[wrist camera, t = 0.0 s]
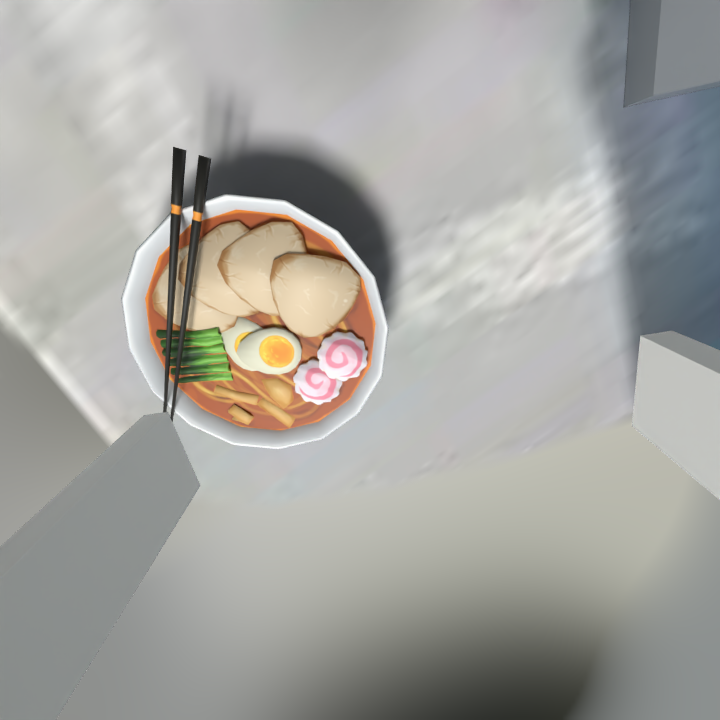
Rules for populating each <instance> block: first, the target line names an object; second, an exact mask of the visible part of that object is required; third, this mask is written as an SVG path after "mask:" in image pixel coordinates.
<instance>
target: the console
mask: <svg viewBox="0 0 720 720" xmlns="http://www.w3.org/2000/svg"><path fill="white" fill-rule="evenodd" d="M719 86H720V0H631V1H630V16H629V32H628V48H627V64H626V80H625V96H624V107H628V106H632V105H637V104H641V103H646V102H650V101H655V100H660V99H664V98H669V97H673V96H678V95H682V94H687V93H692V92H696V91H701V90H705V89H710V88H714V87H719Z"/></svg>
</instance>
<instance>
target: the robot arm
mask: <svg viewBox="0 0 720 720" xmlns="http://www.w3.org/2000/svg"><path fill="white" fill-rule="evenodd" d="M632 427H634V428H635V429H636V430H637V431H638V432H640V433H641V434H642V435H643V436H644V437H645V438H647V439H648V440H649V441H650V442H651V443H653V444H654V445H655V446H656V447H657V448H659V449H660V450H661V451H662V452H663V453H665V454H666V455H667V456H668V457H669V458H670V459H672V460H673V461H674V462H675V463H676V464H678V465H679V466H680V467H681V468H682V469H684V470H685V471H686V472H687V473H688V474H689V475H691V476H692V477H693V478H694V479H695V480H697V481H698V482H699V483H700V484H701V485H702V486H704V487H705V488H706V489H707V490H708V491H710V492H711V493H712V494H713V495H714V496H715V497H717V498H718V499H719V500H720V350H717V349H715V348H713V347H710V346H708V345H705V344H703V343H700V342H698V341H696V340H693V339H691V338H688V337H686V336H684V335H681V334H679V333H676V332H674V331H668V332H661V333H655V334H649V335H643V336H640V347H639V357H638V368H637V378H636V388H635V399H634V409H633V419H632ZM199 487H200V484H199V481H198V479H197V477H196V475H195V472H194V470H193V468H192V466H191V463H190V461H189V459H188V457H187V454H186V452H185V450H184V448H183V445H182V443H181V441H180V438H179V436H178V434H177V432H176V429H175V427H174V425H173V423H172V420H171V418H170V416H169V414H168V412H163V413H157V414H150V415H144V416H143V417H141V418H140V419H139V420H138V421H137V422H136V423H135V424H134V425H133V426H132V427H131V428H129V429H128V430H127V431H126V432H125V433H124V434H123V435H122V436H121V437H120V438H119V439H117V440H116V441H115V442H114V443H113V444H112V445H111V446H110V447H109V448H108V449H106V450H105V451H104V452H103V453H102V454H101V455H100V456H99V457H98V458H97V459H96V460H94V461H93V462H92V463H91V464H90V465H89V466H88V467H87V468H86V469H85V470H84V471H82V472H81V473H80V474H79V475H78V476H77V477H76V478H75V479H74V480H73V481H71V483H69V484H68V485H67V486H66V487H65V488H64V489H63V490H62V491H61V492H59V493H58V494H57V495H56V496H55V497H54V498H53V499H52V500H51V501H50V502H49V503H47V504H46V505H45V506H44V507H43V508H42V509H41V510H40V511H39V512H38V513H37V514H35V515H34V516H33V517H32V518H31V519H30V520H29V521H28V522H27V523H26V524H24V525H23V526H22V527H21V528H20V529H19V530H18V531H17V532H16V533H15V534H14V535H12V536H11V537H10V538H9V539H8V540H7V541H6V542H5V543H4V544H3V545H2V546H0V720H56V719H57V718H58V716H59V714H60V713H61V711H62V709H63V707H64V706H65V705H66V703H67V701H68V699H69V698H70V696H71V695H72V693H73V692H74V690H75V688H76V687H77V685H78V683H79V682H80V680H81V678H82V677H83V675H84V674H85V672H86V670H87V669H88V667H89V666H90V664H91V662H92V661H93V659H94V657H95V656H96V654H97V653H98V651H99V649H100V648H101V646H102V644H103V643H104V641H105V640H106V638H107V636H108V635H109V633H110V631H111V630H112V628H113V627H114V625H115V623H116V622H117V620H118V618H119V617H120V615H121V613H122V612H123V610H124V609H125V607H126V605H127V604H128V602H129V601H130V599H131V597H132V595H133V594H134V592H135V591H136V589H137V588H138V586H139V584H140V583H141V581H142V579H143V578H144V576H145V575H146V573H147V571H148V570H149V568H150V566H151V565H152V563H153V562H154V560H155V558H156V556H157V555H158V553H159V552H160V550H161V549H162V547H163V545H164V544H165V542H166V540H167V539H168V537H169V536H170V534H171V532H172V531H173V529H174V527H175V526H176V524H177V522H178V521H179V519H180V518H181V516H182V515H183V513H184V511H185V510H186V508H187V506H188V505H189V503H190V502H191V500H192V498H193V497H194V495H195V493H196V492H197V490H198V489H199Z"/></svg>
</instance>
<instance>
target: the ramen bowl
mask: <svg viewBox="0 0 720 720" xmlns="http://www.w3.org/2000/svg"><path fill="white" fill-rule="evenodd" d="M185 159H186V150H183V149H179V148H175V147H173V168H172V194H171V206H172V210H171V213H170V214H169V215H168V216H167V218H166V219H165V220H164V221H163V222H162V223H161V224H160V225H159V226H158V227H157V228H156V229H155V230H154V231H153V232H152V234H151V235H150V236H149V237H148V238H147V239H146V240H145V241H144V242H143V243H142V244H141V245H140V246H139V247H138V248H137V250H136V252H135V255H134V258H133V261H132V265H131V268H130V271H129V274H128V278H127V281H126V284H125V288H124V291H123V294H122V297H121V301H122V308H123V315H124V321H125V328H126V335H127V341H128V348H129V350H130V352H131V354H132V356H133V358H134V359H135V361H136V363H137V365H138V367H139V368H140V370H141V372H142V374H143V376H144V377H145V379H146V381H147V383H148V385H149V387H150V388H151V390H152V392H153V393H154V394H155V395H156V396H157V397H159V398H160V399H161V400H162V401H163V402H164V409H163V412H166V409H167V405H168V406H169V407H170V408H171V417H170V418H171V420H172V422H173V415H174V412H175V413H177V414H178V415H179V416H180V417H181V418H182V419H183V420H185V421H186V422H187V423H188V424H189V425H191V426H193V427H195V428H197V429H200V430H202V431H204V432H206V433H208V434H211V435H213V436H215V437H217V438H219V439H222V440H224V441H226V442H228V443H230V444H233V445H241V446H251V447H261V448H271V449H282V448H286V447H291V446H295V445H300V444H304V443H308V442H313V441H317V440H321V439H323V438H325V437H326V436H328V435H329V434H331V433H332V432H333V431H335V430H336V429H338V428H339V427H341V426H342V425H343V424H345V423H346V422H348V421H349V420H350V419H352V418H353V417H355V416H356V415H358V414H359V412H360V410H361V409H362V407H363V406H364V404H365V403H366V401H367V400H368V398H369V396H370V395H371V393H372V392H373V390H374V389H375V387H376V385H377V384H378V382H379V381H380V379H381V378H382V376H383V368H384V361H385V353H386V346H387V338H388V331H389V327H388V323H387V320H386V316H385V312H384V309H383V305H382V301H381V297H380V294H379V290H378V286H377V283H376V279H375V276H374V275H373V274H372V272H371V271H370V270H369V269H368V267H367V266H366V265H365V264H364V262H363V261H362V260H361V259H360V257H359V256H358V255H357V254H356V252H355V251H354V250H353V248H352V247H351V246H350V245H349V243H348V242H347V241H346V240H345V238H344V237H343V236H342V235H341V233H340V232H339V231H338V230H336V229H334V228H333V227H331V226H329V225H327V224H326V223H324V222H322V221H321V220H319V219H317V218H315V217H314V216H312V215H310V214H309V213H307V212H305V211H303V210H302V209H300V208H298V207H296V206H295V205H293V204H291V203H290V202H288V201H286V200H279V199H270V198H261V197H251V196H242V195H232V194H224V195H221V196H218V197H215V198H212V199H209V200H206V201H205V197H206V190H207V183H208V176H209V170H210V163H211V159H210V158H207V157H204V156H200V155H199V158H198V168H197V177H196V186H195V195H194V204H193V205H190V206H187V207H184V208H182V199H183V186H184V173H185Z"/></svg>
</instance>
